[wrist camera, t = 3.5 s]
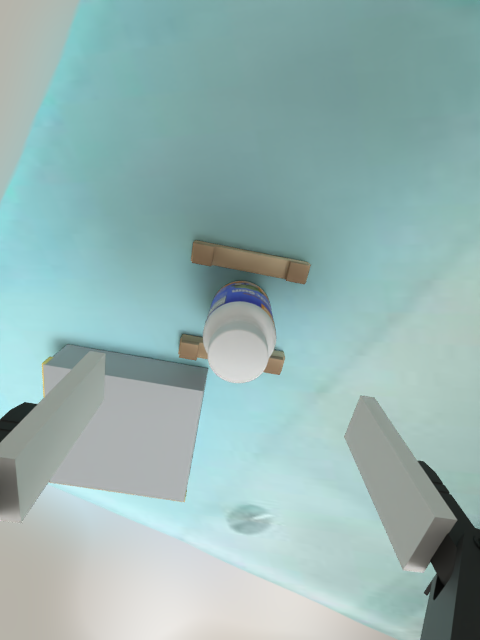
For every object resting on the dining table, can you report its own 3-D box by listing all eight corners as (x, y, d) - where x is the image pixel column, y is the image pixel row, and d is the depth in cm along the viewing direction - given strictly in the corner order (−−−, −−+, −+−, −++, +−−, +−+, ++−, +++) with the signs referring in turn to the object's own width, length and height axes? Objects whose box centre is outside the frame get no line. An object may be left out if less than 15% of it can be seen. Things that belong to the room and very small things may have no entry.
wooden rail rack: (195, 240, 27) (192, 242, 25) (307, 262, 27) (312, 266, 26) (180, 348, 31) (177, 357, 29) (279, 365, 31) (281, 375, 30)
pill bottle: (281, 299, 29) (299, 346, 20) (248, 343, 30) (251, 406, 21) (231, 267, 28) (226, 301, 19) (200, 315, 29) (181, 367, 20)
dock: (65, 343, 31) (41, 363, 27) (208, 368, 31) (204, 390, 28) (67, 453, 36) (47, 483, 32) (190, 471, 36) (184, 503, 33)
